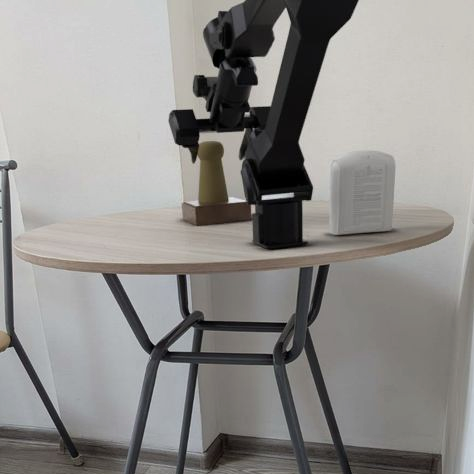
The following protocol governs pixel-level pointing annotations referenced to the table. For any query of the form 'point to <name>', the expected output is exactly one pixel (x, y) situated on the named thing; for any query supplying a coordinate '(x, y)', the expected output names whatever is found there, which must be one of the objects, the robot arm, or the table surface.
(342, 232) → the white upright block
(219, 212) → the block
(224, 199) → the cork
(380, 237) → the table surface
